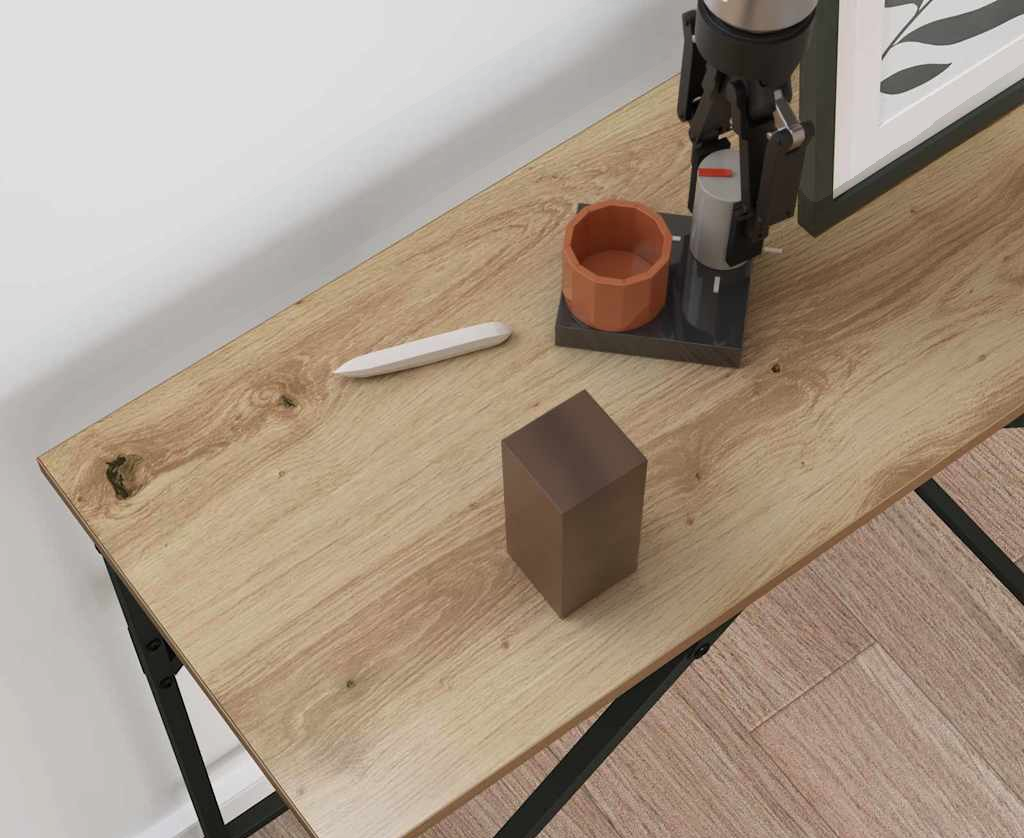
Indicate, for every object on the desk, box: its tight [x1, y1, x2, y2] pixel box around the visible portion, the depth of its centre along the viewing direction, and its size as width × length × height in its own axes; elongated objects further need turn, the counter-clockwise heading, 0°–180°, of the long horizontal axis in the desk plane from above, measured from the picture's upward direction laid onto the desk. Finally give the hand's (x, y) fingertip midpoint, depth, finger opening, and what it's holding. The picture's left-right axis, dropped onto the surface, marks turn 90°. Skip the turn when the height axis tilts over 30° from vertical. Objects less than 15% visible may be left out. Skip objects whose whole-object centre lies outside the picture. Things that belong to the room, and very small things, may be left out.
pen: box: [332, 321, 513, 378], centre depth 122 cm, size 2×14×2 cm, turn 107°
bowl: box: [561, 198, 673, 332], centre depth 120 cm, size 8×8×6 cm
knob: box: [689, 148, 748, 270], centre depth 120 cm, size 5×5×8 cm
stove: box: [554, 202, 783, 369], centre depth 124 cm, size 16×14×3 cm
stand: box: [500, 388, 649, 620], centre depth 107 cm, size 7×7×15 cm
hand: (724, 230), depth 122 cm, fingers closed on knob, 5 cm apart
